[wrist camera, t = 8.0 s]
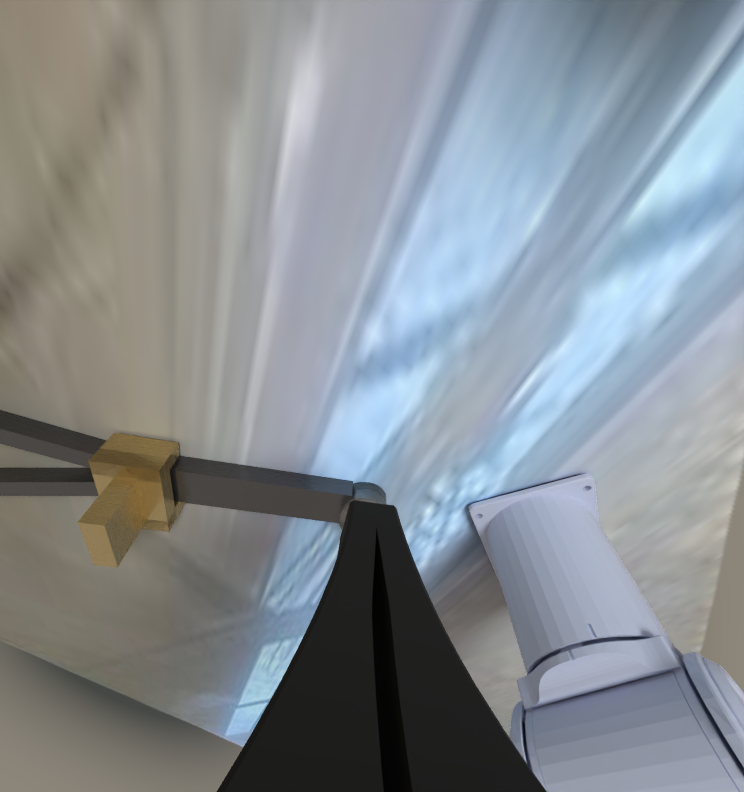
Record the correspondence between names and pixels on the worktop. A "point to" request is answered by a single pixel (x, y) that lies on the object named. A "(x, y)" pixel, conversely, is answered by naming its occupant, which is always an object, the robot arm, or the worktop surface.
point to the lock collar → (129, 495)
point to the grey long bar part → (179, 477)
